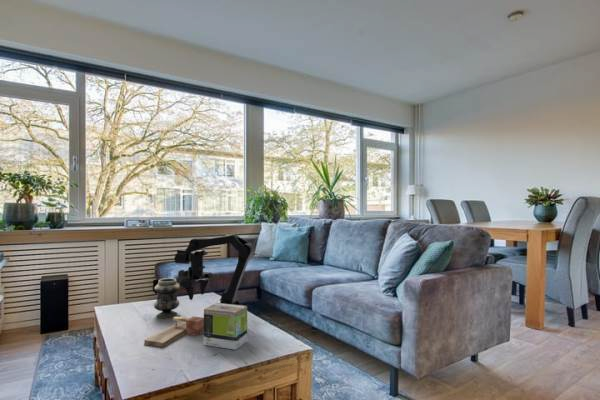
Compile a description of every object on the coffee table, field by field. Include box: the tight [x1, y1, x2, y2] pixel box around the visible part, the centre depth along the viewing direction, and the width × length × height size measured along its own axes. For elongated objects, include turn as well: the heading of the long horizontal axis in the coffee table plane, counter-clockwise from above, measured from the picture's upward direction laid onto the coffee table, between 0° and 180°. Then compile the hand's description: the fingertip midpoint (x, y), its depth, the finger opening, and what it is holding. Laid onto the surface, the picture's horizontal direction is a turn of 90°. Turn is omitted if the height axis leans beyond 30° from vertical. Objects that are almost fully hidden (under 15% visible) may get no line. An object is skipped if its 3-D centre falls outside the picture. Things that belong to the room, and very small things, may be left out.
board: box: [143, 321, 187, 348], centre depth 144 cm, size 9×21×2 cm, turn 163°
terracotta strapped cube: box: [172, 315, 204, 336], centre depth 149 cm, size 14×5×6 cm, turn 74°
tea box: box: [203, 302, 248, 350], centre depth 137 cm, size 15×10×15 cm
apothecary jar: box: [153, 277, 181, 319], centre depth 170 cm, size 12×12×18 cm
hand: (196, 297), depth 160 cm, fingers open, 9 cm apart
